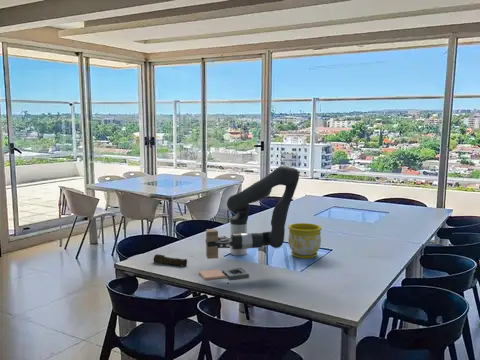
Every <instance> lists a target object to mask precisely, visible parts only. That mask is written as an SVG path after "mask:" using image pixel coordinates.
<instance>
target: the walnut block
mask: <svg viewBox="0 0 480 360" xmlns="http://www.w3.org/2000/svg"><path fill="white" fill-rule="evenodd" d="M218 237H219V231H218V229H217V228H207V229H205V244H206V245H205V250H206V251H205V252H206V253H205V256H206V258H207V259H208V260H210V259H219V248H217V247H208V246H207V242H216V241H218Z"/></svg>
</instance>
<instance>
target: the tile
mask: <svg viewBox="0 0 480 360" xmlns="http://www.w3.org/2000/svg"><path fill="white" fill-rule="evenodd" d="M198 274H199V276H200V277H202V278H203V279H204V281H208V280H218V279H225V278H226V276H225V275H224V274H223V273H222V271H221V270H220V269H219V268H218V269H208V270H201V271H198Z"/></svg>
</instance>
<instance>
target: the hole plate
mask: <svg viewBox="0 0 480 360" xmlns="http://www.w3.org/2000/svg"><path fill="white" fill-rule="evenodd" d="M221 272H222V273H223V274H224V275H225V278H227V279H228V280H234V279H235V280H237V279H244V278H249V277H250V273H248V272H247V271H246V270H245V269H244V268H242V267H237V268H228V269H226V268H225V269H222V271H221Z"/></svg>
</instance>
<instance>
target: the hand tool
mask: <svg viewBox="0 0 480 360" xmlns="http://www.w3.org/2000/svg"><path fill="white" fill-rule="evenodd" d="M153 262H154V263H156V264H160V265H164V264H165V265H166V264H167V265H172V266H173V265H174V266H179V267H181V266H182V267H183V268H186V267H187V265H188V259H187V258H179V257H178V258H177V257H168V256H165V255H163V254H155V255H154V256H153Z"/></svg>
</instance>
